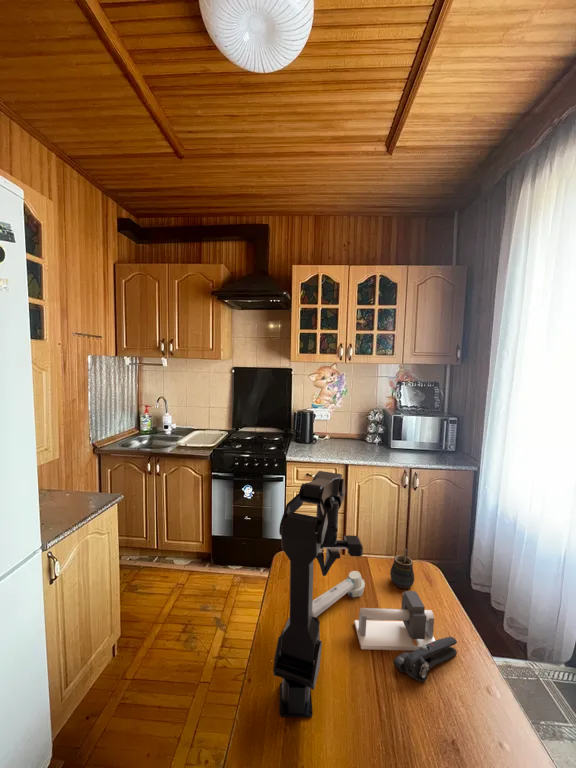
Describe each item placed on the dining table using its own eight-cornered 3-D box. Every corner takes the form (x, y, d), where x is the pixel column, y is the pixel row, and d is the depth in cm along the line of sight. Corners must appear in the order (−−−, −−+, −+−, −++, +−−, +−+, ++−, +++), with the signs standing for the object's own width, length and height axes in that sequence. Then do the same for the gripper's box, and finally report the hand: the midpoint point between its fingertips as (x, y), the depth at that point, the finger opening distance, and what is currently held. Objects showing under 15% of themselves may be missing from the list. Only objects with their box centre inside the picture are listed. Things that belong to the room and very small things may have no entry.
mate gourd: (389, 588, 106) (391, 557, 105) (389, 574, 113) (391, 545, 113) (414, 594, 104) (416, 562, 103) (413, 579, 111) (415, 549, 111)
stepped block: (424, 641, 84) (426, 610, 83) (412, 641, 84) (414, 610, 83) (411, 616, 92) (414, 588, 91) (400, 616, 92) (402, 587, 91)
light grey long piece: (292, 606, 92) (354, 562, 107) (293, 628, 93) (355, 581, 108) (305, 618, 88) (368, 571, 103) (306, 641, 89) (368, 590, 104)
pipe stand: (438, 651, 84) (441, 623, 83) (361, 649, 84) (363, 620, 83) (425, 625, 92) (427, 599, 91) (354, 623, 91) (356, 597, 91)
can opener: (412, 693, 73) (414, 668, 73) (389, 666, 80) (391, 643, 79) (468, 663, 81) (470, 641, 81) (443, 641, 87) (445, 620, 87)
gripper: (355, 506, 99) (352, 558, 101) (291, 504, 99) (288, 556, 100) (364, 525, 88) (361, 583, 89) (292, 523, 88) (289, 581, 89)
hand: (324, 574), depth 92 cm, fingers closed
